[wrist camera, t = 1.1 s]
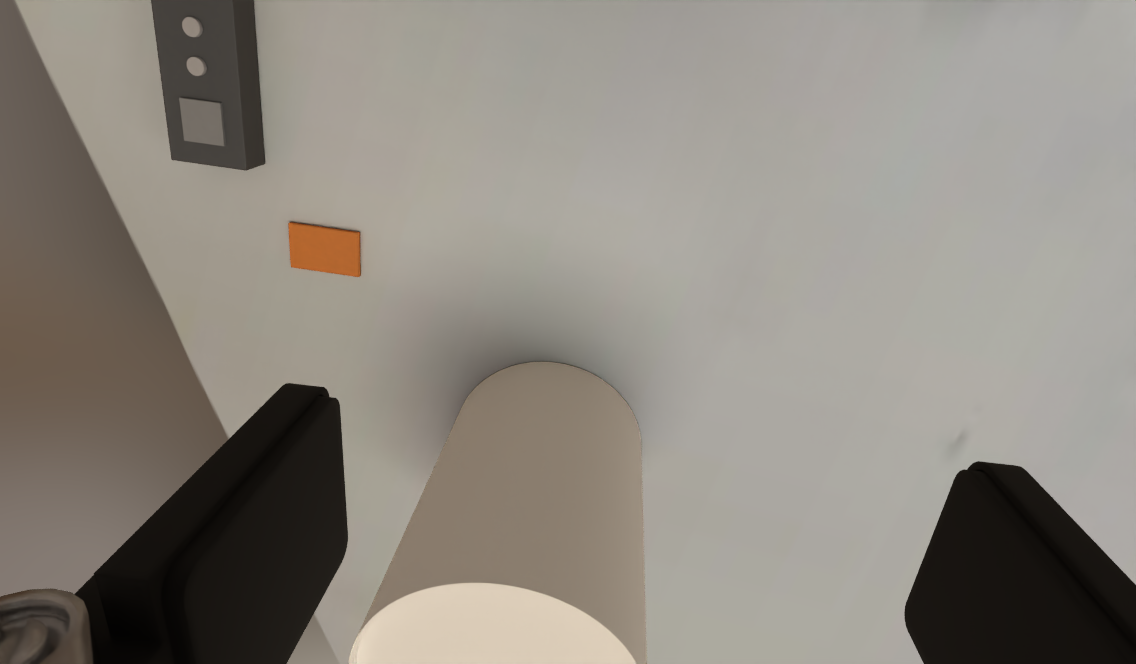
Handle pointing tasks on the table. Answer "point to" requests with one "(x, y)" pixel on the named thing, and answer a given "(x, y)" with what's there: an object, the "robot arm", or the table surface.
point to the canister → (522, 533)
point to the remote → (210, 81)
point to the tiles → (324, 249)
